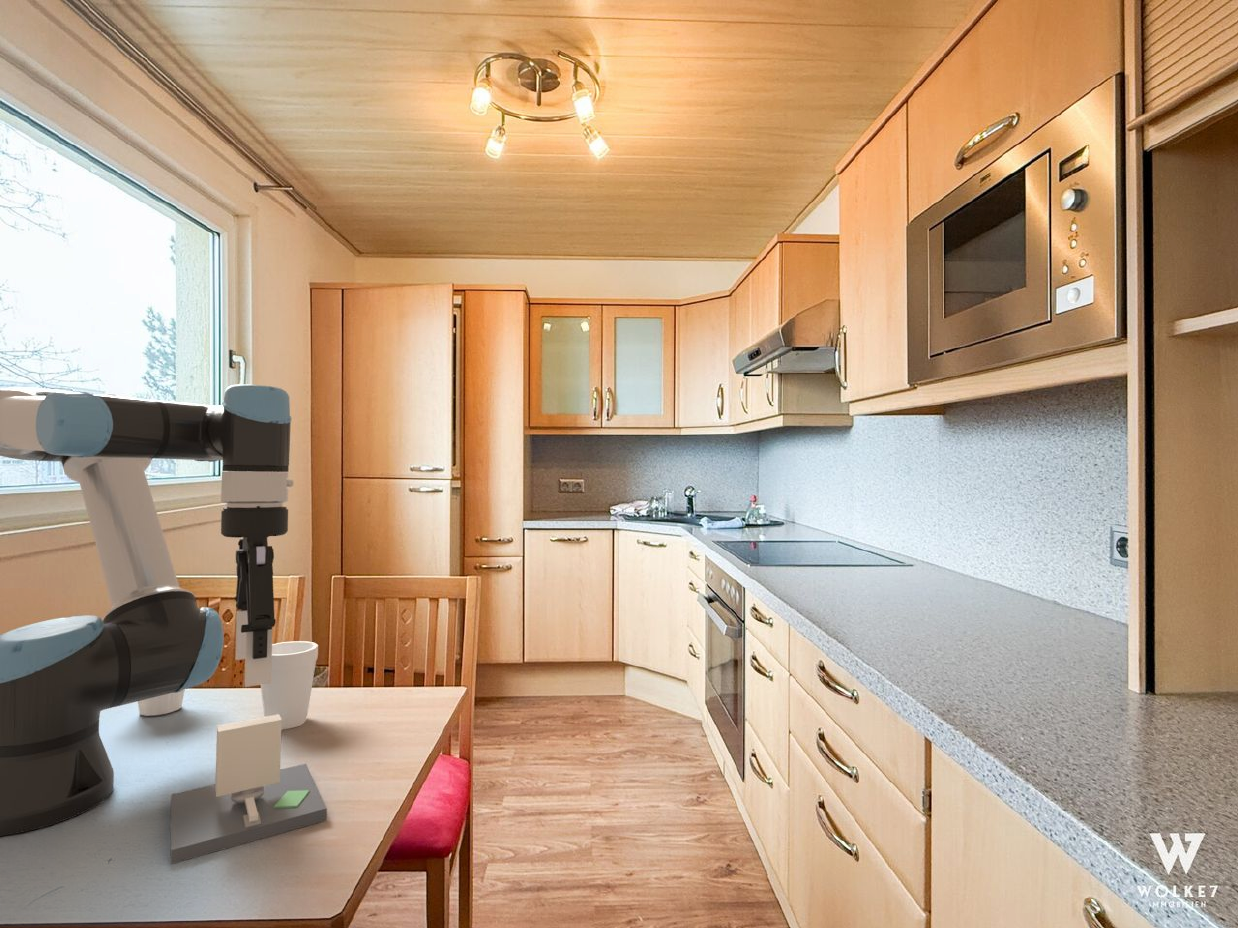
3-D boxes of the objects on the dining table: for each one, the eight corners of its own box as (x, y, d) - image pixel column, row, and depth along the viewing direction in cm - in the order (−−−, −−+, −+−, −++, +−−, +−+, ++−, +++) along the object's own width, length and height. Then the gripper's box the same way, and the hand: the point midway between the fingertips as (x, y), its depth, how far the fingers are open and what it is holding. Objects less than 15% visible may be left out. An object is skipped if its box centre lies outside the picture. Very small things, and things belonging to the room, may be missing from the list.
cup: (168, 722, 110) (170, 647, 110) (111, 721, 110) (113, 646, 110) (206, 702, 120) (208, 633, 120) (154, 701, 120) (156, 632, 120)
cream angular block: (218, 835, 73) (221, 748, 73) (214, 802, 81) (216, 723, 81) (286, 817, 77) (288, 735, 77) (276, 787, 85) (278, 712, 85)
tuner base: (170, 863, 70) (171, 848, 70) (170, 805, 83) (171, 792, 83) (326, 820, 80) (326, 806, 80) (305, 773, 92) (306, 762, 92)
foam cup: (290, 735, 105) (292, 657, 105) (242, 730, 107) (244, 653, 107) (327, 714, 114) (329, 642, 115) (282, 710, 116) (284, 639, 117)
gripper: (304, 508, 74) (300, 691, 73) (275, 501, 94) (272, 644, 94) (228, 509, 70) (224, 704, 69) (215, 502, 90) (212, 652, 89)
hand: (252, 670), depth 81 cm, fingers open, 13 cm apart
